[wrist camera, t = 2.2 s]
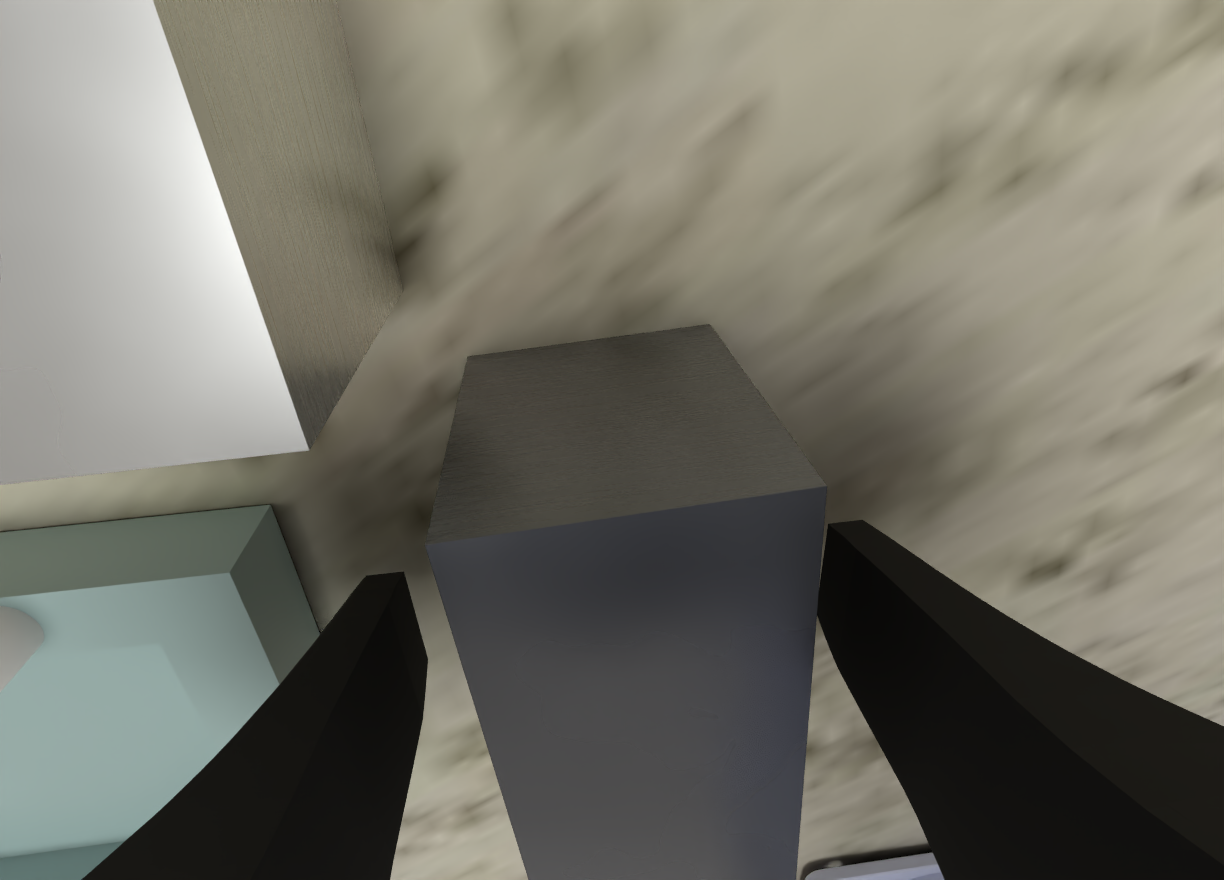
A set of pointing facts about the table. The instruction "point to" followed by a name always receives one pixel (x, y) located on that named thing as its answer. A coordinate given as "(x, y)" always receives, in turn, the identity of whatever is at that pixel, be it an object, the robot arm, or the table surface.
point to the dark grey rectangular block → (634, 604)
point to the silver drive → (180, 232)
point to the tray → (131, 670)
